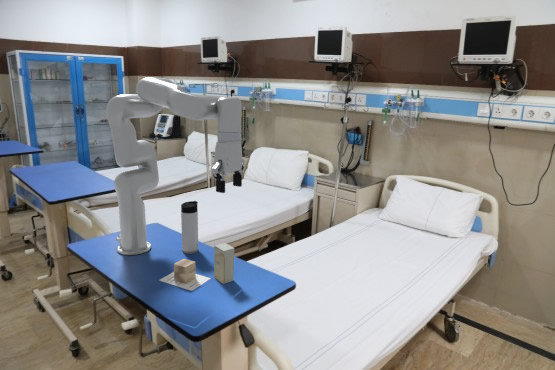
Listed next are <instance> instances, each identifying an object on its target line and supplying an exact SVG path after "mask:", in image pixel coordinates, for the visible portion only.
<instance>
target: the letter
mask: <svg viewBox="0 0 555 370" xmlns="http://www.w3.org/2000/svg"><path fill="white" fill-rule="evenodd" d="M211 279H212V278H211V277H207V276H204V275H202V274H197V273H196V278H195V279H193V280H192V281H190V282H189V283H187V284H184V283H181V282H178V281H174V271H172V272H171V273H169V274H167V275H165V276H163V277H162V278H160V279H159V280H158V281H160V282H163V283H165V284H168V285H172V286H176V287H178V288H181V289H185V290H188V291H191V292H193V291H195V290H196V289H197V288H199V287H200V286H202V285H203V284H205V283H206V282H208V281H209V280H211Z"/></svg>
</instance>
